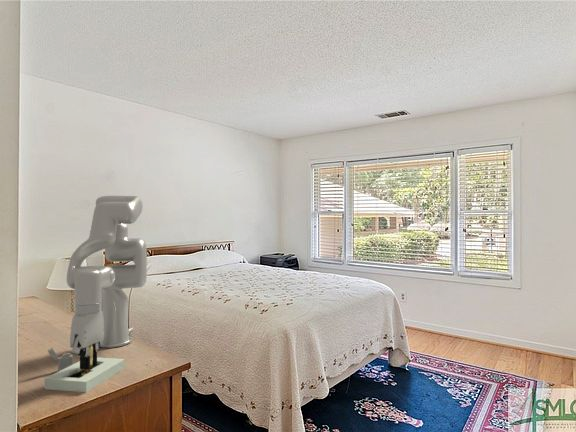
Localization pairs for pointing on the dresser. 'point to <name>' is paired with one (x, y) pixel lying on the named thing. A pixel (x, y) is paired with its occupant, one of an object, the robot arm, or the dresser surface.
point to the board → (86, 382)
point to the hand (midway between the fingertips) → (88, 366)
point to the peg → (90, 361)
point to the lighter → (62, 359)
